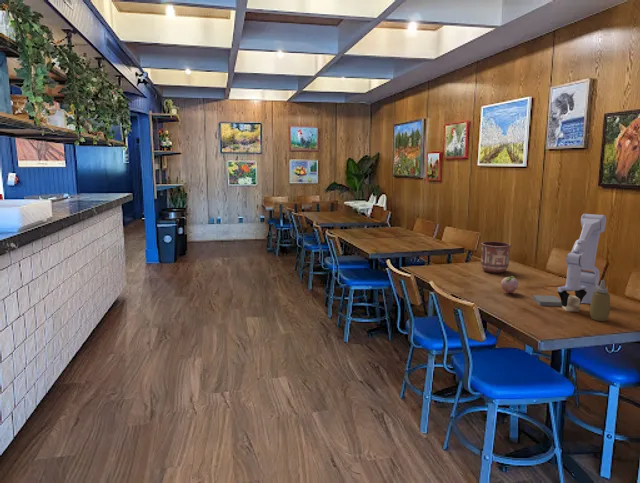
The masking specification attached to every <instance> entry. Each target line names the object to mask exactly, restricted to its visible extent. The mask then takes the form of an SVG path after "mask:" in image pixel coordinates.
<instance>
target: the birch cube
mask: <svg viewBox="0 0 640 483" xmlns="http://www.w3.org/2000/svg"><path fill="white" fill-rule="evenodd" d="M580 305H581V303H580V299H579V298H578V297H576V296H575V295H569V297H568V300H567V306H566V307H564V306H561V308H562V309H563V310H565V311H566V312H580Z"/></svg>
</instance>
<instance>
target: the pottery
mask: <svg viewBox="0 0 640 483" xmlns="http://www.w3.org/2000/svg"><path fill="white" fill-rule="evenodd" d="M480 245H481V246H480V247H481V252H480V253H481V255H480V256H481V257H480V266H481V268H482V269H483V271H484V272H486V273H489V274H502V273H504V272H506V271H507V270H508V268H509V261H510V252H511V243H508V242H503V241H490V240H489V241H483V242H481V244H480Z"/></svg>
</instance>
